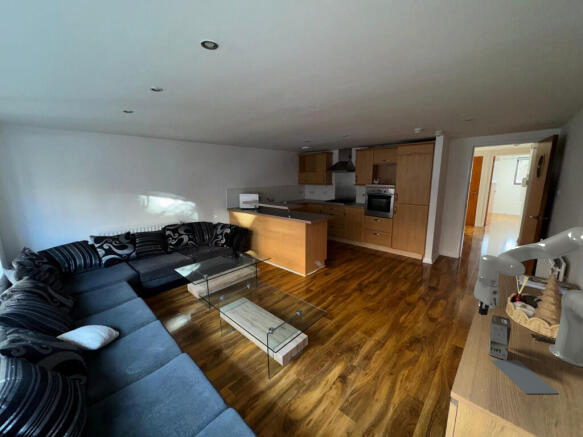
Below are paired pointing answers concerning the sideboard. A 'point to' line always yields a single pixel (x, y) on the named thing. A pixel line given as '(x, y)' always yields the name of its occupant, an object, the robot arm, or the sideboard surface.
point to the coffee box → (499, 337)
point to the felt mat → (524, 377)
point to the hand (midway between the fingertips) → (482, 314)
